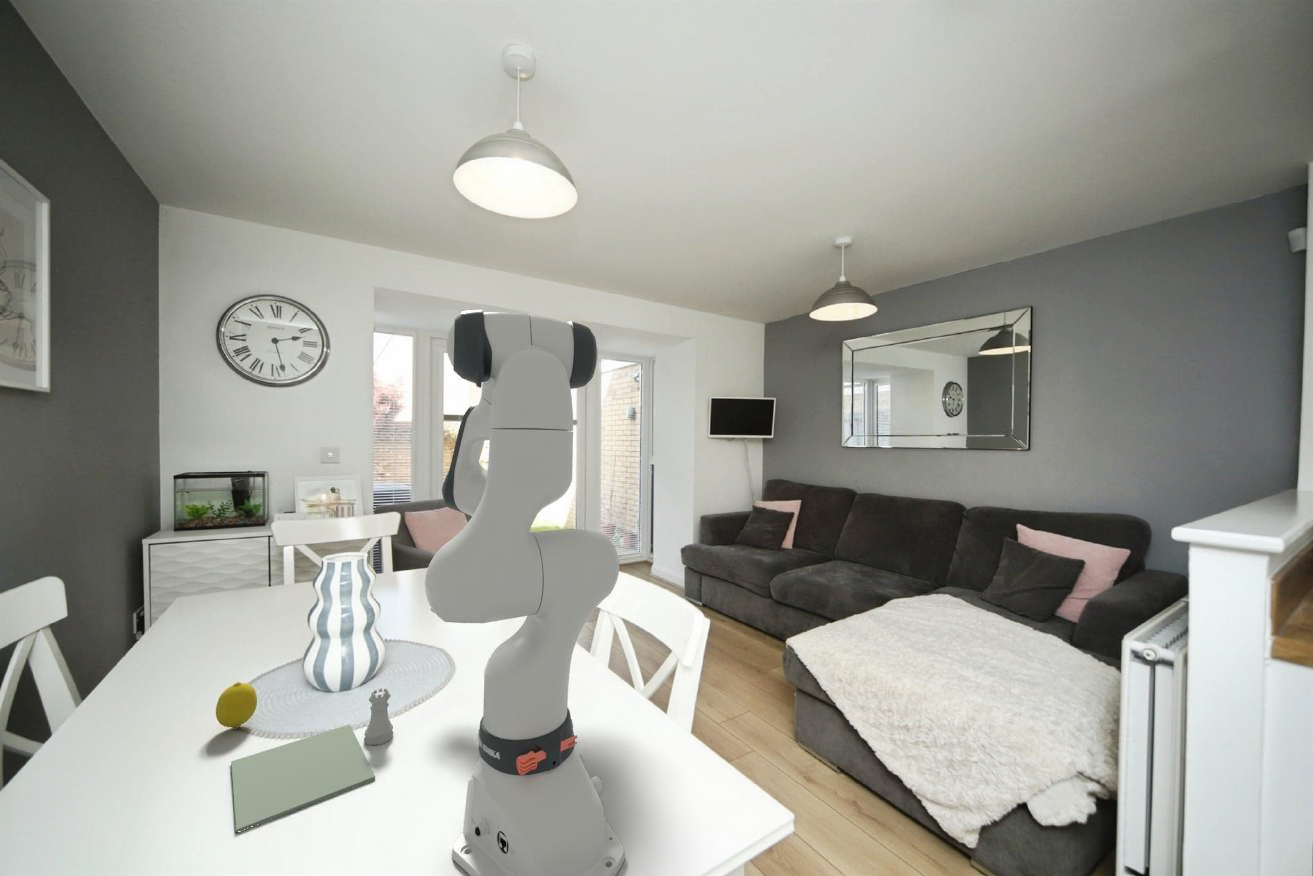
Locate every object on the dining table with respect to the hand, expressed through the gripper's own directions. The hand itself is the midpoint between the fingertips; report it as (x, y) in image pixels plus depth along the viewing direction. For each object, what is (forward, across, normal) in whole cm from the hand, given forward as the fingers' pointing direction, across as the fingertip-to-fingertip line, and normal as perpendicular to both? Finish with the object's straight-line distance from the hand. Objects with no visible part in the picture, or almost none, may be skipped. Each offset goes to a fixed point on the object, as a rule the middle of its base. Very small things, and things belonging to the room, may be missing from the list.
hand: (444, 615), depth 96 cm
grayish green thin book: (+29, -1, -4) cm, 29 cm away
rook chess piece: (+21, 0, +4) cm, 22 cm away
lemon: (+29, -24, -4) cm, 38 cm away
